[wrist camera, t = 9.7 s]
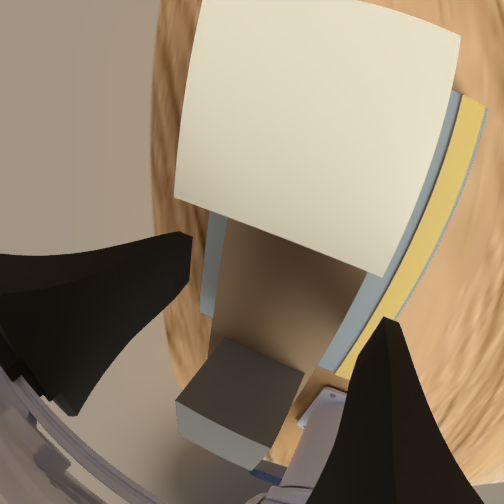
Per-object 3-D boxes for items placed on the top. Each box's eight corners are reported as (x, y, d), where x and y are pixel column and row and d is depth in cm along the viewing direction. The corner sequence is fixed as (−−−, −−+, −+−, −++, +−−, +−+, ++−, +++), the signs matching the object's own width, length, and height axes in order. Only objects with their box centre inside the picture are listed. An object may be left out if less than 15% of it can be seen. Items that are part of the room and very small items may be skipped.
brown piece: (414, 92, 9) (435, 78, 5) (312, 352, 18) (286, 412, 14) (304, 59, 11) (261, 33, 7) (243, 322, 19) (205, 374, 15)
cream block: (423, 73, 5) (460, 36, 2) (383, 205, 8) (382, 278, 4) (282, 36, 6) (205, -10, 3) (256, 160, 9) (173, 197, 5)
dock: (475, 109, 9) (489, 108, 8) (357, 359, 19) (352, 381, 17) (255, 42, 13) (238, 33, 11) (212, 296, 22) (197, 312, 21)
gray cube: (304, 373, 12) (270, 448, 9) (281, 411, 14) (251, 470, 11) (224, 336, 13) (175, 400, 10) (216, 380, 15) (178, 433, 12)
